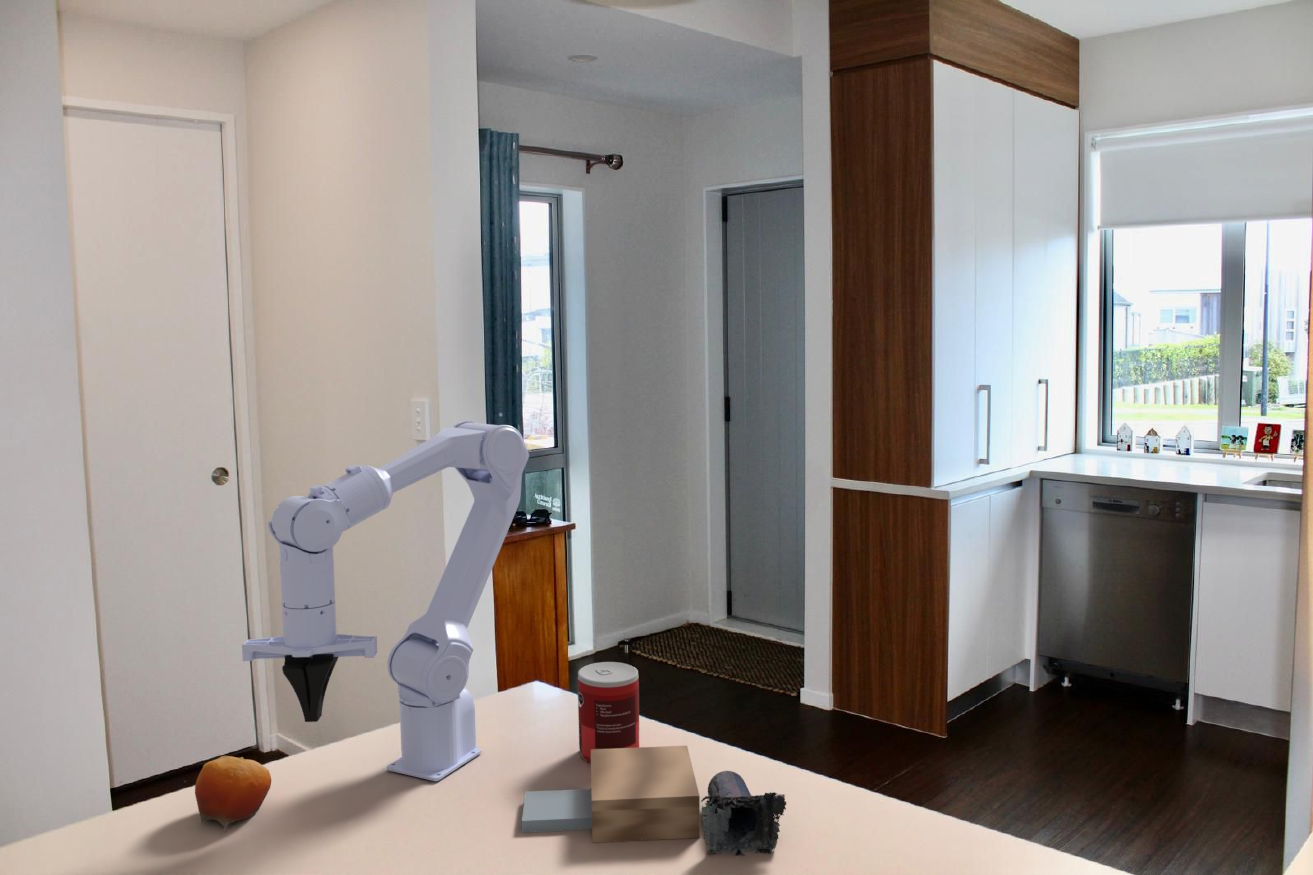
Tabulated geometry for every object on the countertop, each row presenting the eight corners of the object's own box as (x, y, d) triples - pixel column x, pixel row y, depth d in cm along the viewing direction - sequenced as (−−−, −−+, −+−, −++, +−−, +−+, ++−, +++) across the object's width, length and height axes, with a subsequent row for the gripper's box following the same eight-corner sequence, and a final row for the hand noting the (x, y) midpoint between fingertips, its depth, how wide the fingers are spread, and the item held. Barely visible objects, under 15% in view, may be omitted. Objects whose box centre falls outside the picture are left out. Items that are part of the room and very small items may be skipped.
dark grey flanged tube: (776, 868, 105) (750, 818, 117) (789, 795, 104) (762, 753, 116) (692, 858, 103) (674, 809, 115) (705, 785, 103) (686, 743, 115)
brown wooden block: (592, 842, 107) (591, 800, 107) (591, 787, 120) (590, 749, 120) (699, 837, 108) (699, 795, 108) (687, 783, 121) (687, 745, 120)
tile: (522, 836, 110) (521, 820, 110) (526, 806, 117) (525, 791, 117) (641, 831, 111) (641, 815, 110) (638, 801, 118) (637, 786, 117)
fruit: (164, 821, 110) (190, 746, 113) (213, 828, 117) (236, 757, 120) (223, 833, 107) (247, 756, 110) (270, 839, 114) (291, 766, 117)
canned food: (603, 737, 135) (602, 657, 134) (652, 751, 130) (651, 669, 129) (566, 757, 129) (564, 674, 127) (615, 773, 124) (614, 686, 123)
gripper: (230, 613, 109) (236, 734, 111) (366, 610, 110) (370, 730, 112) (251, 596, 116) (256, 710, 118) (379, 594, 117) (383, 706, 119)
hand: (313, 718), depth 115 cm, fingers closed
